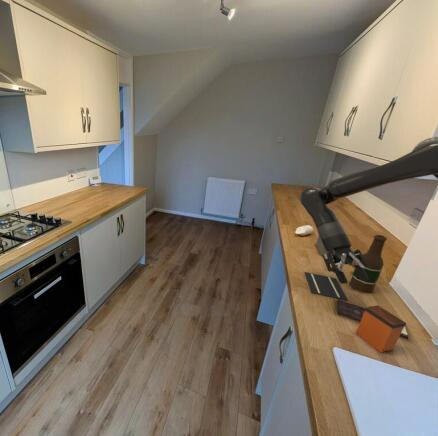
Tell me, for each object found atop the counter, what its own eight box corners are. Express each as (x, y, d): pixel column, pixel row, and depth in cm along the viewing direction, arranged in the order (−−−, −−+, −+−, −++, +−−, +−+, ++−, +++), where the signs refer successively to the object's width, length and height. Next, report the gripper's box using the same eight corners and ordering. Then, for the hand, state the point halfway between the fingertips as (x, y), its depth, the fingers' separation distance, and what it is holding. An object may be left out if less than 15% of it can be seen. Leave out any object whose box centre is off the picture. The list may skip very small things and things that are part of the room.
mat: (335, 278, 106) (335, 277, 106) (347, 300, 92) (348, 299, 92) (304, 272, 110) (304, 271, 110) (311, 292, 97) (311, 291, 96)
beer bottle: (344, 283, 103) (362, 232, 95) (359, 281, 104) (378, 231, 96) (362, 294, 96) (383, 241, 88) (378, 292, 97) (400, 239, 89)
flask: (332, 257, 124) (344, 222, 117) (319, 254, 127) (329, 220, 119) (326, 245, 137) (337, 213, 130) (315, 243, 139) (324, 211, 132)
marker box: (366, 330, 79) (377, 305, 75) (392, 350, 72) (406, 323, 68) (355, 332, 78) (366, 307, 74) (380, 352, 71) (394, 325, 67)
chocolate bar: (338, 299, 92) (402, 321, 82) (337, 301, 92) (401, 323, 82) (337, 312, 85) (408, 337, 75) (337, 314, 86) (407, 340, 76)
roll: (302, 230, 144) (300, 238, 146) (314, 227, 149) (312, 235, 151) (293, 226, 149) (291, 234, 151) (304, 223, 154) (302, 231, 156)
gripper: (325, 234, 81) (348, 282, 74) (358, 231, 83) (383, 277, 77) (308, 241, 87) (328, 286, 81) (339, 238, 90) (361, 281, 84)
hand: (355, 282), depth 79 cm, fingers open, 8 cm apart
